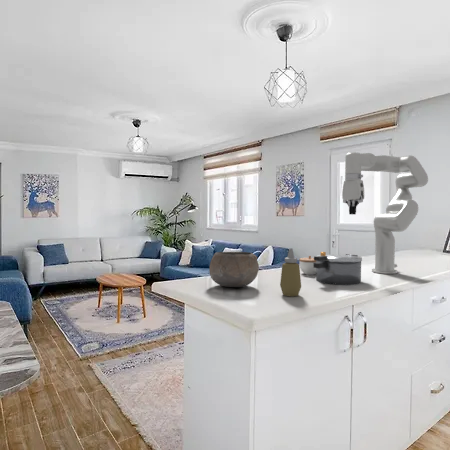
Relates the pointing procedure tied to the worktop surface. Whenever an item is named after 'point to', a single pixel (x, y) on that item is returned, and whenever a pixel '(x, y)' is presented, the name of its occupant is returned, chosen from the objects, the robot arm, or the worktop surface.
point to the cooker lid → (337, 258)
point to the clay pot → (233, 268)
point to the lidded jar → (307, 265)
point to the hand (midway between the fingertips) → (352, 214)
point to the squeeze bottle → (290, 276)
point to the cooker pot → (338, 272)
